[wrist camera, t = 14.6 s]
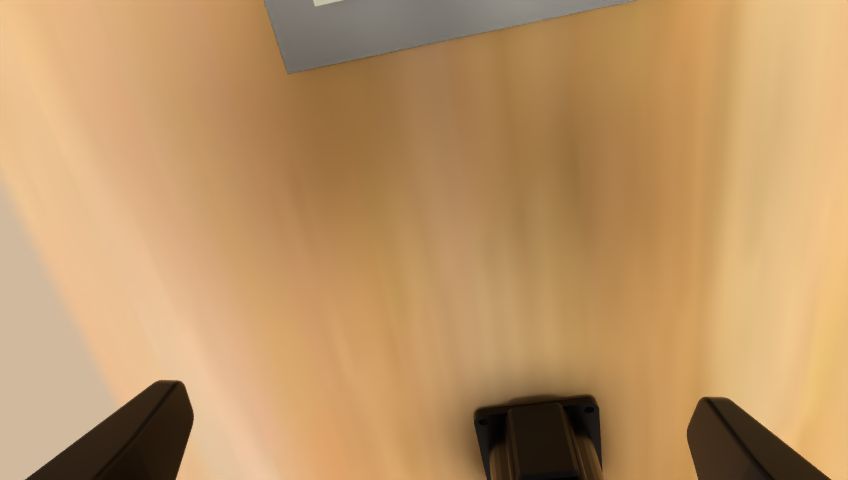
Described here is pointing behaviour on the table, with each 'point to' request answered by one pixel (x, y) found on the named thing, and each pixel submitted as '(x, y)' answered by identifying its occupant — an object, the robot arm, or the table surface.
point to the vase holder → (396, 24)
